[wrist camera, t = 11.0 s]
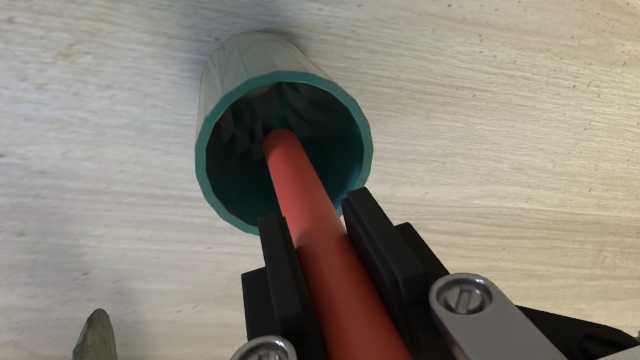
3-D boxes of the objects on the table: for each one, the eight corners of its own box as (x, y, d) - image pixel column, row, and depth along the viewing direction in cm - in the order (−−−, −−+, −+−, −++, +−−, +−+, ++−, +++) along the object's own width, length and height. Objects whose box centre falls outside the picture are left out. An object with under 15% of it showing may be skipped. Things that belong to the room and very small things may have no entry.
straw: (258, 133, 19) (342, 417, 7) (294, 123, 20) (437, 383, 7) (267, 166, 20) (359, 476, 8) (302, 156, 20) (446, 444, 8)
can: (184, 48, 26) (166, 100, 16) (298, 18, 27) (356, 49, 16) (221, 155, 30) (227, 259, 19) (323, 125, 30) (384, 210, 20)
